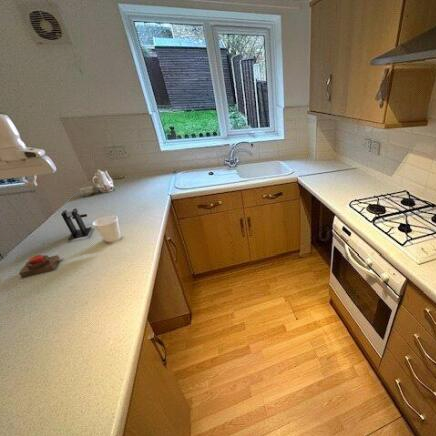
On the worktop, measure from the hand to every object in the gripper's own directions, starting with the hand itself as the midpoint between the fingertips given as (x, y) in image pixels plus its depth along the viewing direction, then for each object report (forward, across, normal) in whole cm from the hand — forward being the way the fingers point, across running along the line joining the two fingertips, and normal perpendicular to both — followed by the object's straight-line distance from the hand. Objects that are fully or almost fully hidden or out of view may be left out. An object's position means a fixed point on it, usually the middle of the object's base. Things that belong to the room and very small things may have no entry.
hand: (32, 186), depth 103 cm
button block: (+29, -2, -21) cm, 36 cm away
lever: (+20, +6, +7) cm, 23 cm away
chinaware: (+29, +4, +76) cm, 82 cm away
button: (+25, -2, -21) cm, 33 cm away
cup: (+29, +22, -10) cm, 38 cm away
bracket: (+29, +6, +4) cm, 30 cm away
